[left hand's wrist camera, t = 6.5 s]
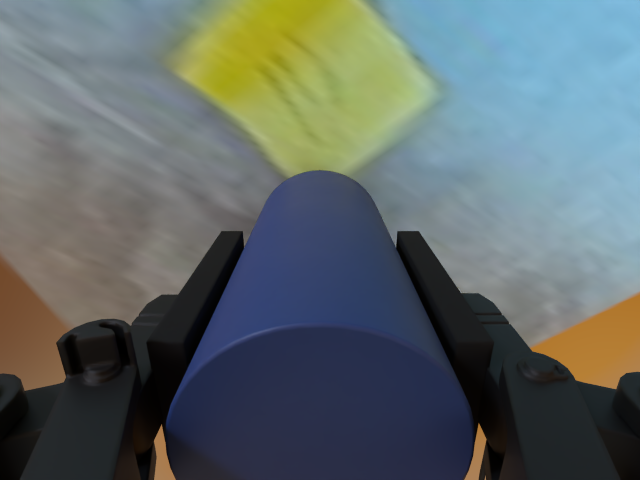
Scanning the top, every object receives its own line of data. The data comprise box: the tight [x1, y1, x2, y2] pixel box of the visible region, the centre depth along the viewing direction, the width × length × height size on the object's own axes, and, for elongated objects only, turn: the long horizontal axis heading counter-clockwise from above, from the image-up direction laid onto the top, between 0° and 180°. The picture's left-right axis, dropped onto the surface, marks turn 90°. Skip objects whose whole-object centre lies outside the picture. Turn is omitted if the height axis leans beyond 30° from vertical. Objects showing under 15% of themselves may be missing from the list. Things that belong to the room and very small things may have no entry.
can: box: [165, 170, 475, 480], centre depth 13 cm, size 6×6×12 cm
